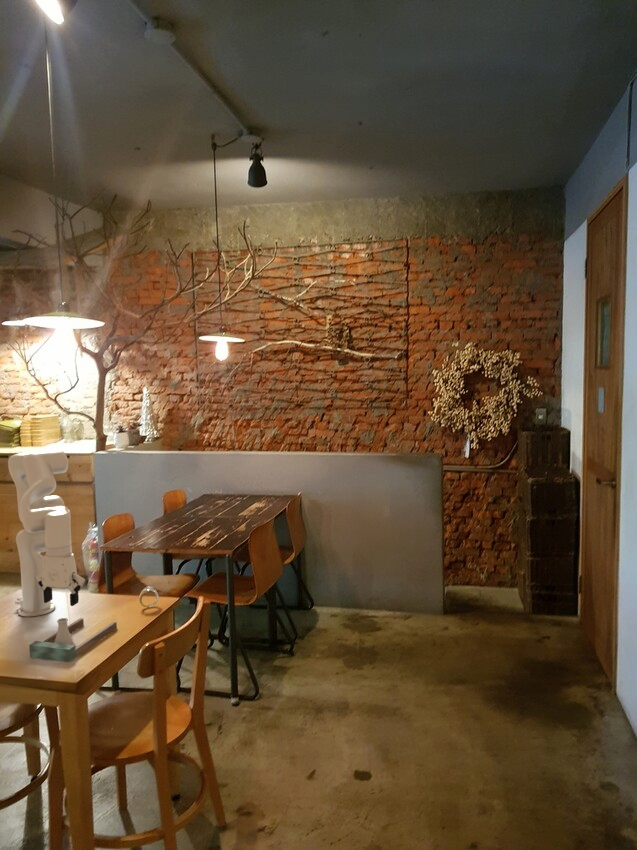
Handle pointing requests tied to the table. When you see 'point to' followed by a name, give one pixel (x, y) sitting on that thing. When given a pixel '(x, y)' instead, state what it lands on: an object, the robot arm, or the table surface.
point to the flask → (63, 633)
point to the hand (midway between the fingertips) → (61, 602)
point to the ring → (145, 593)
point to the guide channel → (65, 651)
